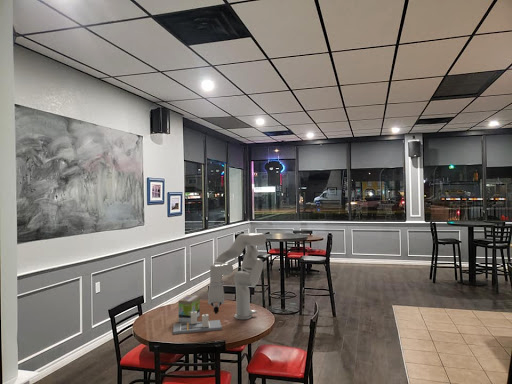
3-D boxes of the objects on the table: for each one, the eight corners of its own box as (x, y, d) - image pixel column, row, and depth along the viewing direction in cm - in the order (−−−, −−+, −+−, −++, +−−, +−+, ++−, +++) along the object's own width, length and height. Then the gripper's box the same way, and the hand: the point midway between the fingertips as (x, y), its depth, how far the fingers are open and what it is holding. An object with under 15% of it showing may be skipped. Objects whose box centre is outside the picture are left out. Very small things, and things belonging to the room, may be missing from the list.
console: (219, 322, 235) (219, 319, 235) (221, 329, 221) (221, 326, 221) (173, 326, 229) (173, 323, 229) (172, 334, 215) (172, 331, 215)
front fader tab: (208, 325, 224) (208, 313, 224) (208, 326, 221) (208, 314, 221) (202, 325, 223) (201, 314, 223) (202, 327, 220) (202, 315, 220)
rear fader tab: (197, 321, 230) (196, 310, 231) (197, 323, 227) (197, 312, 228) (190, 322, 230) (190, 311, 230) (191, 324, 227) (190, 312, 227)
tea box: (192, 323, 234) (191, 301, 234) (178, 322, 236) (177, 300, 236) (200, 315, 249) (199, 295, 249) (186, 315, 251) (186, 294, 251)
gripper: (227, 282, 229) (227, 310, 228) (204, 283, 226) (204, 312, 225) (228, 284, 221) (228, 314, 221) (204, 285, 219) (204, 315, 218)
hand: (216, 313), depth 223 cm, fingers closed
